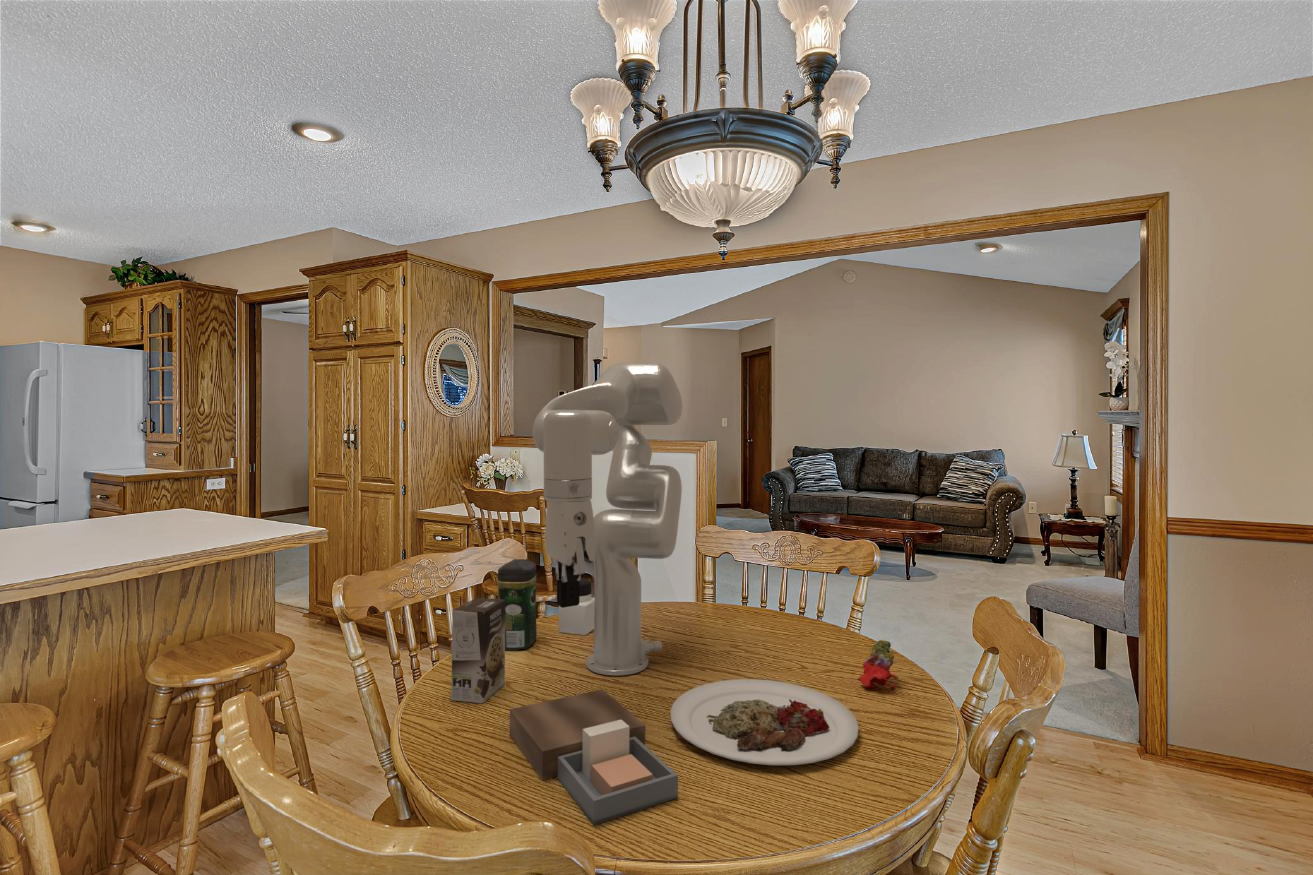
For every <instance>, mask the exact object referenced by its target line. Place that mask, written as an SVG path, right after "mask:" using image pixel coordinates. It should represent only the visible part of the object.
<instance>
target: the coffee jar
mask: <svg viewBox="0 0 1313 875" xmlns="http://www.w3.org/2000/svg"><path fill="white" fill-rule="evenodd" d="M497 588H498V589H497V590H498V591H497V593H498V594H497V595H498V597H497V599H504V600H505V650H507V651H518V650H521V649H522V650H523V649H524V650H525V649H528V648H530V647H531V646H532V645H533V644H534V643H535V641H536V639H537V634H538V633H537V632H538V630H537V566H536V563H534V561H532V560H531V559H525V558H524V559H523V558H522V559H521V558H519V559H518V558H514V559H512V560H510V561H509V562H506V563H504V564H503V565H501V566H500V567H499V568H498V569H497Z"/></svg>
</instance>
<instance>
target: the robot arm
mask: <svg viewBox="0 0 1313 875" xmlns="http://www.w3.org/2000/svg"><path fill="white" fill-rule="evenodd" d="M674 378H675V377H674V376H673V374H672V372H670V370H669V369H668V368H667V367H666V366H665V365H664V364H661V363H659V362H626V363H625V362H624V363H623V362H622V363H616V364H612V365H611V366H609V367H608V368H606V370H605V371H604V372H602V374H601V375H600V376H599V377H598V378H597V380H595V381H594V382H593V384H591V385H587V386H584V387H582V388H579V389H576V390H573V391H570V392H567V393H564V394H562V395H559V396H557V397H554V398H553V399H551V400H550V401H549V402H548V403H547V404H545V405H544V406H543V408H542V409H541V410H539V413H538V414H537V415H536V417H535V419H534V422H533V426H532V439H533V443H534V445H535V447H536V448H537V449H538V450H539V451H540V452H542V453H543V500H544V501H545V502H547V503H546V513H545V535H544V536H545V540H544V541H545V551H546V554H547V555H548V556H549V557H550V558H552V559H551V560H552V562H553V563H554V566H555V578H556V604H557V606H558V607H559V606H560V607H562V608H564V607H570V606H577V605H579V581H580V578H582V577H581V576H582V575H584V574H585V573H586V565H585V562H586V563H588V564H593V566H594V568H593V570H594V574H593V575H594V597H593V598H594V630H593V633H594V634H593V635H594V636H593V646H594V647H593V653H591V654H590V655H588V656H587V658H586V662H585V663H586V665H585V666H586V667H587V669H588V670H590V671H591V672H592V673H593V672H594V673H596V674H599V675H605V676H614V677H615V676H617V677H618V676H628V675H633V674H637V673H640V672H641V671H642V672H643V671H644V670H646V668H647V667H648V666H649V657H648V656H647V655H648V654H649V653H650V652H656V651H657V652H658V651H662V649H663V643H662V642H661V640H655V641H651V640H650V639H642V578H641V574H640V572H639V570H638V568H637V566H636V565H635V564H634V562H633V561H632V559H634V558H636V559H651V560H654V559H656V560H663V559H667V558H669V557H671V556H672V555H673V553H674V551H675V548H676V544H677V538H678V537H677V536H678V528H679V523H680V522H679V520H680V512H681V502H682V489H683V488H682V486H683V485H682V479H681V475H680V472H679V471H678V470H677V469H676V468H675V467H673V466H671V465H666V464H665V465H664V464H663V465H661V464H651V462H652V457H653V456H652V455H653V448H652V446H651V444H650V443H649V441H648V439H646V437H645V436H644V434H642V432H641V431H640V430H638V429H637V427H636V426H637V425H638V426H671V425H674V424H676V423H678V421H679V420H680V418H681V416H682V412H683V400H682V396H681V392H680V390H679V387H678V385H677V384H676V381H675V379H674ZM635 425H636V426H635ZM611 451H612V455H611V461H610V467H609V472H608V477H607V482H606V489H605V493H606V494H605V495H606V500H607V502H608V503H609V505H611V507H615V509H612V508H611V509H610V508H609V509H605V510H602V511H599V512H598V513H596V514H595V515H594V511H593V504H592V499H593V494H592V493H593V474H592V473H593V468H592V466H593V456H601V455H606V454H609V453H610V452H611Z"/></svg>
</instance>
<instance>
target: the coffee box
mask: <svg viewBox="0 0 1313 875" xmlns="http://www.w3.org/2000/svg"><path fill="white" fill-rule="evenodd" d="M451 615H452V621H451V624H452V625H451V626H452V627H451V689H450V690H451V692H450V693H451V696H450V699H451V701H456V702H457V701H458V702H465V703H475V704H484V703H485V702H486V701H487V700H489V698H491V697H492V696H493V695H494V694H495V693H496V692H497V691H499V690H500V689H501V688H502V687H504V685H505V684H506V649H505V600H504V599H498V598H479V597H477V598H475V597H474V598H473V599H472V600H470V601H467V602H466V603H464V604H461V605H460V606H459V607H455V608H454V609H452V614H451Z"/></svg>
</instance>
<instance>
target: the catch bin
mask: <svg viewBox="0 0 1313 875" xmlns="http://www.w3.org/2000/svg"><path fill="white" fill-rule="evenodd" d="M582 752H583V750H581V751H577V752H574V753H570V754H566V755H562V756H558V776H557V779H558V781H559V782H560V784H561V785H562V786H563V787H564V789H565V790H566V792H567V793H568V794H569V795H570V796H571V798H572V799H573V801H574V803H576V805H577V806H578V807H579V808H580V810H581V811H582V812H583V814H584V815H585V816H586V818H587V819H588V820H589V821H590V823H591V824H592V826H596V825H600V824H603V823H606V822H609V821H612V820H615V819H618V818H620V817H624V816H626V815H630V814H633V813H636V812H639V811H642V810H645V809H648V808H651V807H654V806H657V805H660V804H663V803H667V802H670V801H672V800H676V799H678V798H679V797H678V796H679V775H678V774H677V773H676V772H675V771H674V770H673V769H672V768H671V767H669V766H668V764H666V763H665V762H664V761H663V760H662V759H661V758H660V757H659V756H658V755H657V754H655V753H654V752H653V751H652V750H650V748H648V746H646V744H645V745H644V744H643V743H642V742H641V741H639V740H638V739H637V738H636V737H631V738H629V755H630V754H632V755H633V756H634V757H635V758H636V759H637V760H638V761H639V762H640V763H641V764H642V765H643V766H644V767H645V768H646V769H647V770H649V771H650V772H651V773H652V774H653V780H651V781H647V782H644V783H641V784H638V785H634V786H631V787H628V788H625V789H621V790H618V791H615V792H611V793H608V794H605V795H601V794H600V793H599V792H598V791H597V789H596V788H595V787H594V786H593V785H592V780H589V779H588V778H587V777H586V776H585V774H584V773H583V772H582Z"/></svg>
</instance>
